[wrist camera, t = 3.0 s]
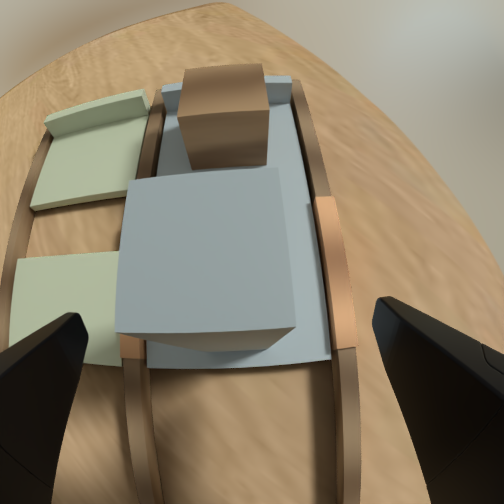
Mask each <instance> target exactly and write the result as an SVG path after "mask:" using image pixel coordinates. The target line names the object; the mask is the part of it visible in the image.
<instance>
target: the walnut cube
mask: <svg viewBox="0 0 504 504" xmlns="http://www.w3.org/2000/svg"><path fill="white" fill-rule="evenodd" d="M269 114H270V109H269V103H268V97H267V91H266V85H265V79H264V73H263V68H262V64H237V65H222V66H211V67H201V68H193V69H185V73H184V78H183V84H182V89H181V95H180V101H179V107H178V113H177V120H178V123H179V127H180V130H181V134H182V137H183V141H184V144H185V148H186V151H187V155H188V158H189V162H190V165H191V169H192V170H201V169H212V168H225V167H240V166H259V165H267V150H268V133H269Z"/></svg>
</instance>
